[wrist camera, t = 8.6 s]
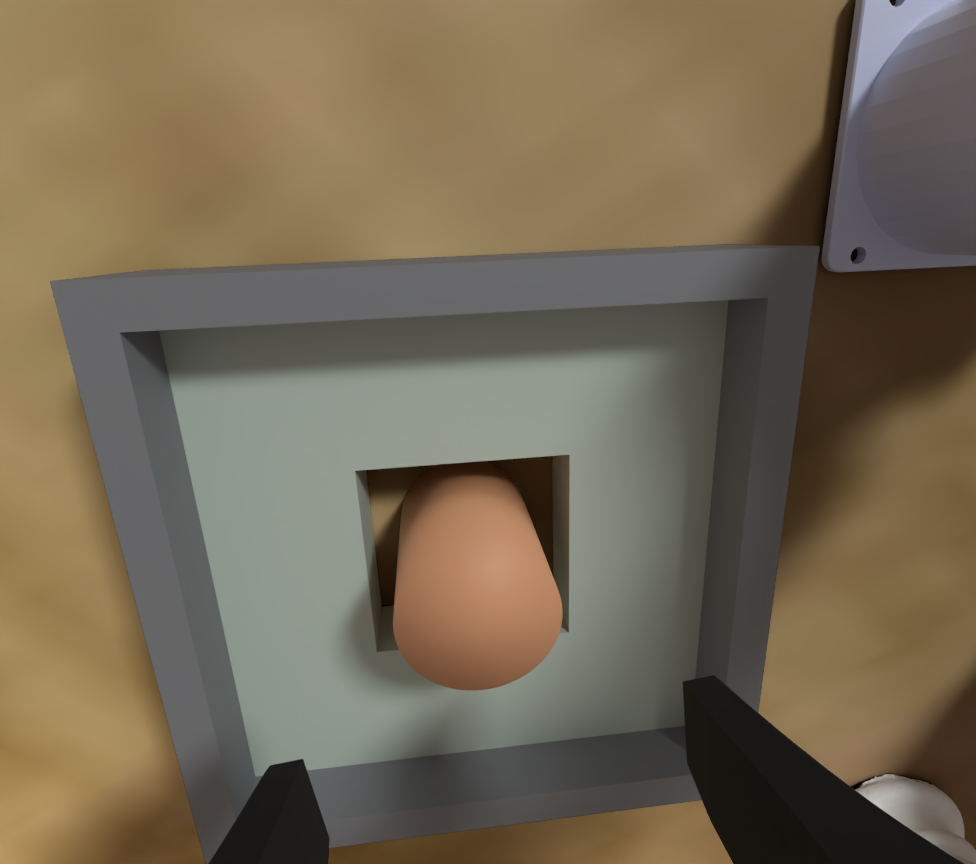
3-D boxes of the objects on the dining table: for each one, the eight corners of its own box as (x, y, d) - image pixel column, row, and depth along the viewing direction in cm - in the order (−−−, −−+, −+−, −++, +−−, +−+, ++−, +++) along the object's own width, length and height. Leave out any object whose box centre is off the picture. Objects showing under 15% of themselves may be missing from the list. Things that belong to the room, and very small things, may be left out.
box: (730, 243, 19) (819, 246, 15) (691, 697, 25) (747, 794, 20) (141, 270, 17) (49, 281, 13) (246, 748, 23) (205, 864, 19)
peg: (510, 445, 20) (544, 526, 15) (536, 554, 22) (576, 666, 16) (385, 477, 20) (370, 571, 14) (419, 584, 22) (419, 708, 16)
